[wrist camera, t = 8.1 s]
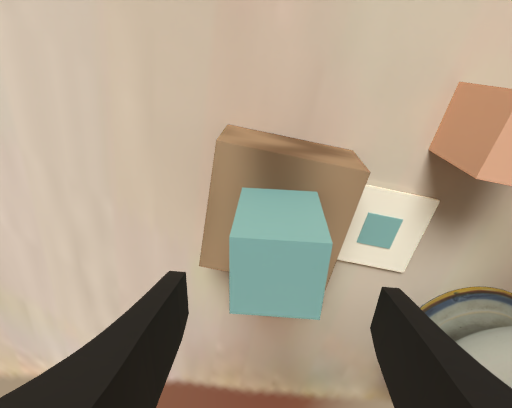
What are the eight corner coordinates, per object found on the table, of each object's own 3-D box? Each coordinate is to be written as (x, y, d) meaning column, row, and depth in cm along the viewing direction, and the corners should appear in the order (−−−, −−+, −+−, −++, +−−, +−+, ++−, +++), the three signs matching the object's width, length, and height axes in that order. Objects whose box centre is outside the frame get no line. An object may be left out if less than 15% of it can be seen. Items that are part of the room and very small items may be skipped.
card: (438, 199, 20) (440, 201, 20) (401, 270, 23) (403, 273, 23) (350, 181, 20) (351, 183, 20) (324, 254, 23) (324, 257, 22)
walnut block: (352, 150, 19) (370, 172, 16) (317, 253, 23) (325, 290, 19) (227, 124, 19) (216, 140, 15) (211, 232, 22) (199, 265, 19)
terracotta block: (526, 96, 17) (614, 109, 13) (490, 162, 19) (556, 194, 15) (459, 81, 17) (523, 90, 13) (428, 149, 19) (475, 178, 14)
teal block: (317, 191, 16) (332, 243, 12) (308, 253, 18) (319, 319, 13) (242, 187, 16) (229, 237, 12) (241, 249, 18) (229, 313, 14)
